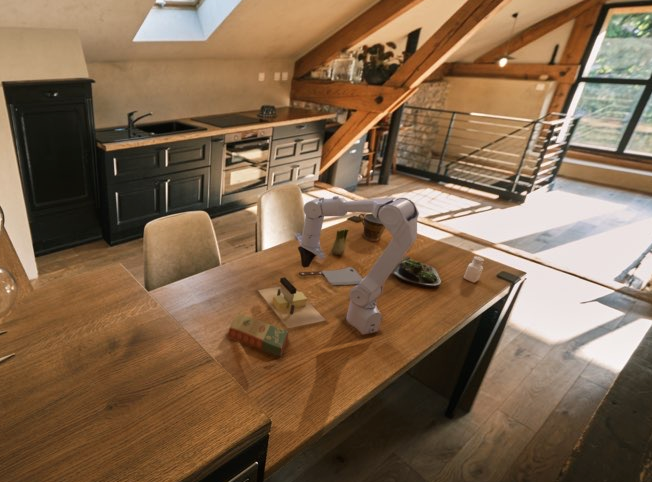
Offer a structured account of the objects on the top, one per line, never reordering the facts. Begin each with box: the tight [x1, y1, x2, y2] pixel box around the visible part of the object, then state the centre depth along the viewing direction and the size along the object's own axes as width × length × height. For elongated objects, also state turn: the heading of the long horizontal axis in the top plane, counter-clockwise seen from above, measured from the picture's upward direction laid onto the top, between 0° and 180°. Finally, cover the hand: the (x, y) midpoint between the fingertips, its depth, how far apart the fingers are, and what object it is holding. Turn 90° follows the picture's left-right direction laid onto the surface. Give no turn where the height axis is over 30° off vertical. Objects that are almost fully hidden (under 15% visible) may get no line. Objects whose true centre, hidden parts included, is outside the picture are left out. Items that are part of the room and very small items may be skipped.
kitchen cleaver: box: [298, 266, 364, 286], centre depth 147 cm, size 24×1×10 cm
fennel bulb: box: [330, 228, 349, 256], centre depth 161 cm, size 6×5×12 cm
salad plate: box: [391, 255, 442, 289], centre depth 151 cm, size 19×18×5 cm
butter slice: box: [272, 295, 287, 311], centre depth 128 cm, size 4×3×3 cm
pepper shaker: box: [463, 255, 485, 284], centre depth 146 cm, size 4×4×10 cm
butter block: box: [284, 291, 308, 309], centre depth 130 cm, size 4×7×3 cm, turn 107°
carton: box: [227, 312, 289, 358], centre depth 115 cm, size 8×16×4 cm, turn 61°
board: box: [257, 285, 327, 329], centre depth 129 cm, size 20×14×4 cm
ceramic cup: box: [358, 213, 386, 242], centre depth 177 cm, size 13×10×10 cm
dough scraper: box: [279, 276, 298, 304], centre depth 127 cm, size 7×2×6 cm, turn 17°
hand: (305, 266), depth 135 cm, fingers closed
